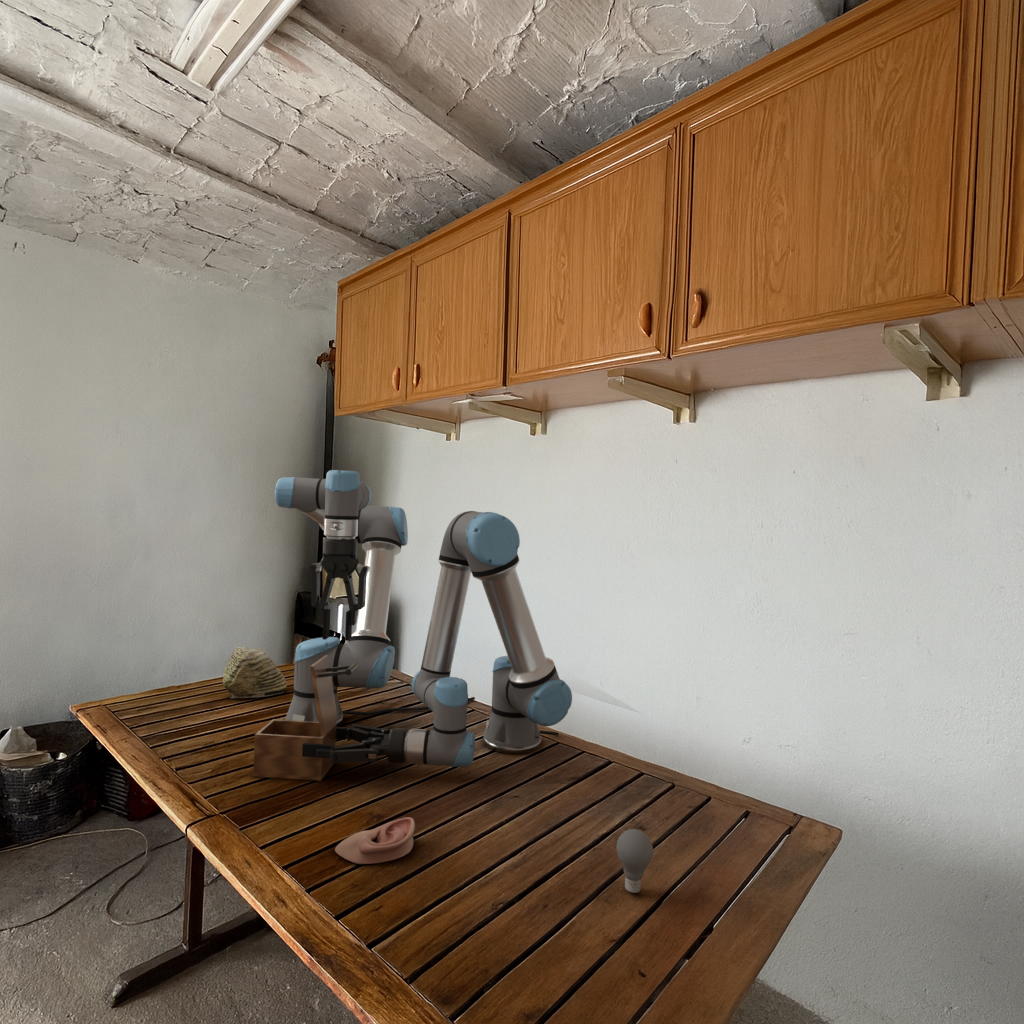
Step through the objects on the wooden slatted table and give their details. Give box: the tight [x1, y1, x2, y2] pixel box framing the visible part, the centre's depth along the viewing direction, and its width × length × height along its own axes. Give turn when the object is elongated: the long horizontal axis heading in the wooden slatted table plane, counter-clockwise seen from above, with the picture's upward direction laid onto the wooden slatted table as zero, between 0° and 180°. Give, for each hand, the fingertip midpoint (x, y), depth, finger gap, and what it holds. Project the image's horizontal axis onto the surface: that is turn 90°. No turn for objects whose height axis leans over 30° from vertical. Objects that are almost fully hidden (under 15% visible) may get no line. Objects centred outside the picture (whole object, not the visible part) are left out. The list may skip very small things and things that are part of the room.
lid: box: [310, 655, 359, 736], centre depth 146 cm, size 16×10×8 cm
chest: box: [252, 718, 337, 782], centre depth 146 cm, size 15×10×10 cm, turn 88°
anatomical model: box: [334, 816, 416, 865], centre depth 115 cm, size 13×4×12 cm
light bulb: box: [615, 828, 654, 894], centre depth 106 cm, size 6×6×10 cm
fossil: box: [222, 646, 288, 699], centre depth 198 cm, size 9×18×15 cm, turn 132°
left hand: (337, 638), depth 146 cm, fingers open, 4 cm apart
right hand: (311, 740), depth 146 cm, fingers closed on chest, 10 cm apart
